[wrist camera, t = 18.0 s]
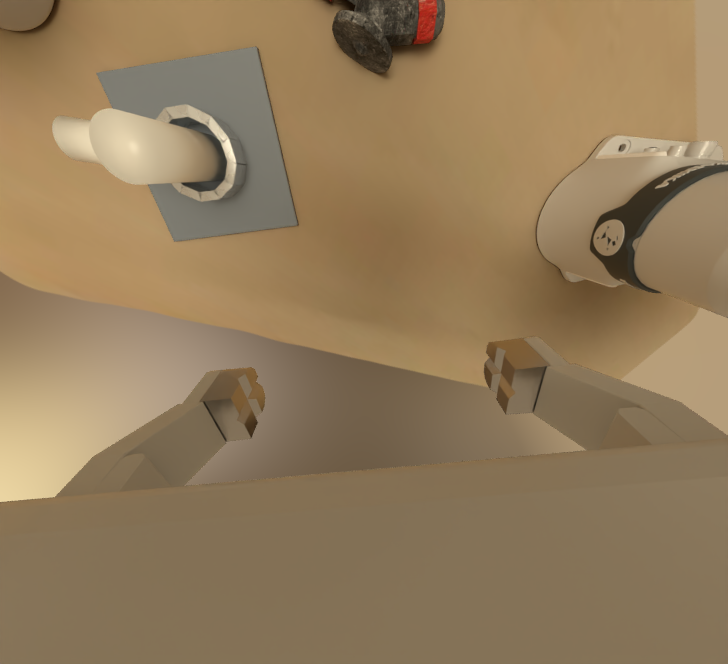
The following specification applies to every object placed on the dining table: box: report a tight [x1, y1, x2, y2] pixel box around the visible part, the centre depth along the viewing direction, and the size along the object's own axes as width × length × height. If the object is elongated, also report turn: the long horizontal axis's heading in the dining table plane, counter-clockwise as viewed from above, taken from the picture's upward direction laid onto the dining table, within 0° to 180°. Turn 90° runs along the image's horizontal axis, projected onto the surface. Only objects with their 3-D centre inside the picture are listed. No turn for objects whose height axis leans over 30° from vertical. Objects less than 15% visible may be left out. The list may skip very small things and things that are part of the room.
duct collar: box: [156, 104, 247, 202], centre depth 32 cm, size 9×9×4 cm
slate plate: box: [97, 47, 298, 242], centre depth 34 cm, size 18×18×1 cm
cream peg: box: [52, 109, 227, 185], centre depth 27 cm, size 8×5×14 cm, turn 82°
